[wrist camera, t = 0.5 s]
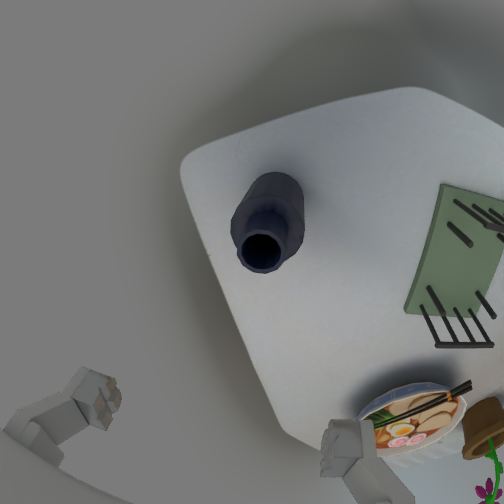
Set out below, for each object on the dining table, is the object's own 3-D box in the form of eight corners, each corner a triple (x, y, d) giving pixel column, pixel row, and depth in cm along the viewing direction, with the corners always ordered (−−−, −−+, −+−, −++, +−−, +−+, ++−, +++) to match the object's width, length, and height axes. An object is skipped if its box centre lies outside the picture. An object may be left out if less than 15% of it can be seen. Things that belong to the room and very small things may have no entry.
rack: (440, 183, 30) (479, 208, 22) (512, 203, 29) (552, 230, 20) (403, 308, 38) (421, 355, 30) (471, 313, 37) (495, 354, 28)
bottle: (250, 169, 33) (219, 206, 21) (306, 175, 33) (310, 216, 20) (247, 220, 36) (218, 282, 24) (299, 226, 35) (298, 293, 23)
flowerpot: (442, 426, 50) (462, 535, 24) (484, 388, 44) (520, 505, 17) (476, 428, 50) (497, 521, 24) (513, 393, 44) (547, 490, 17)
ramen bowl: (360, 440, 54) (362, 471, 47) (318, 392, 48) (318, 430, 41) (464, 399, 45) (474, 428, 38) (453, 334, 39) (470, 370, 32)
